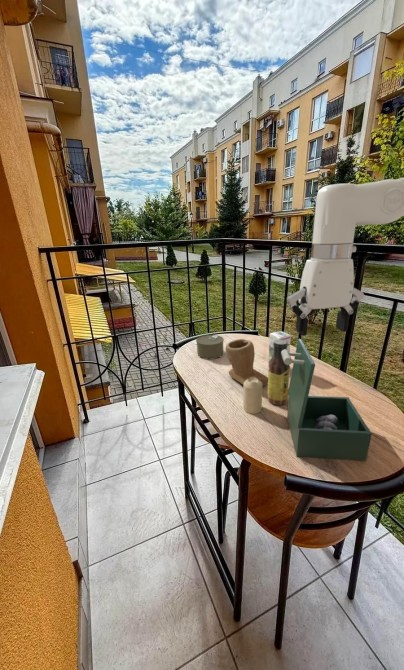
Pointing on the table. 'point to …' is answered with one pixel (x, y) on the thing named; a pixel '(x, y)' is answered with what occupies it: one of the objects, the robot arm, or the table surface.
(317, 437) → the chest
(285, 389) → the sauce bottle
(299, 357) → the lid
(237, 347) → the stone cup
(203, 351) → the can
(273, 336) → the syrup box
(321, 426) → the seashell
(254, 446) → the table surface
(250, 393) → the candle
